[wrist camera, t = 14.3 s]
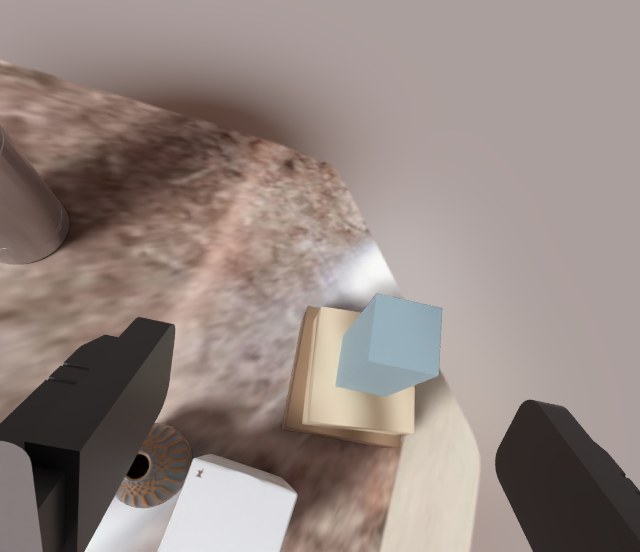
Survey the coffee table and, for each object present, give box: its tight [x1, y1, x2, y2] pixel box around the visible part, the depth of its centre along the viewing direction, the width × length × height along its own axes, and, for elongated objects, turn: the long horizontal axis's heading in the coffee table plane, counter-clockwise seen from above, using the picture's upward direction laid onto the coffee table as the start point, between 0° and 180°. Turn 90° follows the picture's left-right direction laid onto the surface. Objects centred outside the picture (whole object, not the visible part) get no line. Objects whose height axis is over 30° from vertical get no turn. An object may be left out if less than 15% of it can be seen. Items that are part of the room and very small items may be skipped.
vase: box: [115, 423, 192, 508], centre depth 36 cm, size 7×7×9 cm
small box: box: [157, 454, 298, 552], centre depth 34 cm, size 8×6×13 cm
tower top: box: [302, 307, 415, 435], centre depth 38 cm, size 9×10×5 cm
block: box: [335, 294, 442, 397], centre depth 31 cm, size 4×4×11 cm
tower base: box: [281, 306, 401, 448], centre depth 44 cm, size 11×12×6 cm
